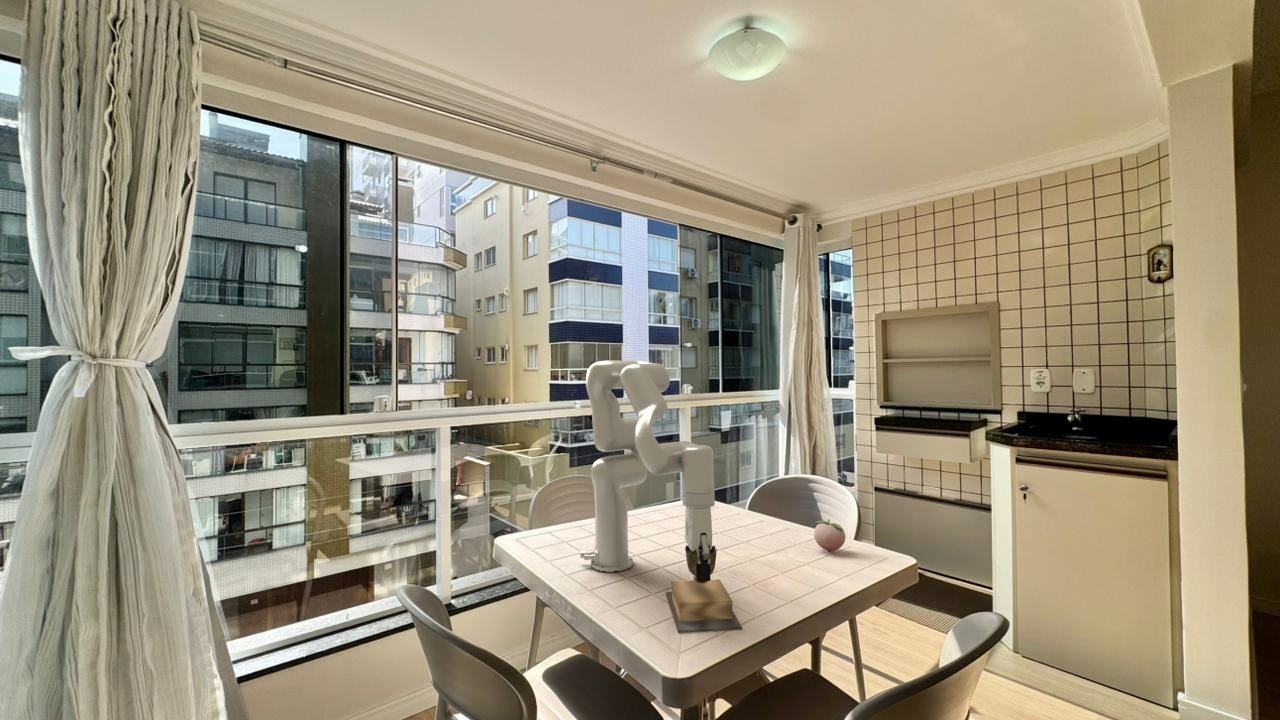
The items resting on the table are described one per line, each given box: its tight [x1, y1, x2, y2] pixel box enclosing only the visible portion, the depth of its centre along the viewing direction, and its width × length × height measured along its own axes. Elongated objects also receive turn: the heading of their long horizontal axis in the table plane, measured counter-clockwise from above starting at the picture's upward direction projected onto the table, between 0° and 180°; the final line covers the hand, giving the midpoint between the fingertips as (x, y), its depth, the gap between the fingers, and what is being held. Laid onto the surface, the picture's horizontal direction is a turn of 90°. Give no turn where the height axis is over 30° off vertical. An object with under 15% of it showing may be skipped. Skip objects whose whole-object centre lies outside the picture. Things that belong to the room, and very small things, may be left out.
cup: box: [684, 544, 718, 584], centre depth 121 cm, size 8×7×8 cm
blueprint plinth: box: [665, 579, 743, 634], centre depth 121 cm, size 14×20×4 cm
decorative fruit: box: [813, 519, 846, 553], centre depth 158 cm, size 9×8×10 cm
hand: (700, 574), depth 121 cm, fingers closed on cup, 6 cm apart
